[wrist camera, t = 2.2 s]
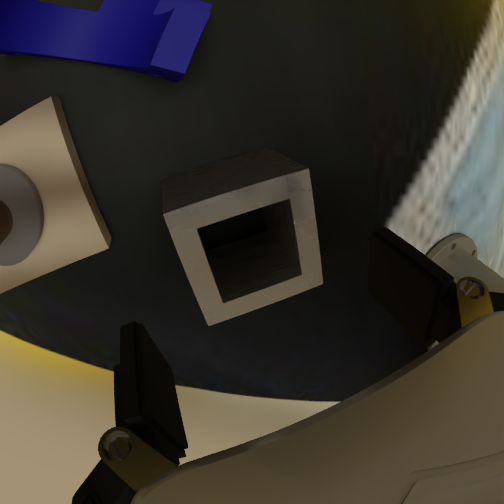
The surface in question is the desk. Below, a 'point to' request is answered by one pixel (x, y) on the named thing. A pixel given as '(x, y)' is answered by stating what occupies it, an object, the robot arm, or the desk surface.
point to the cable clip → (108, 33)
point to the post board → (44, 198)
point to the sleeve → (250, 248)
